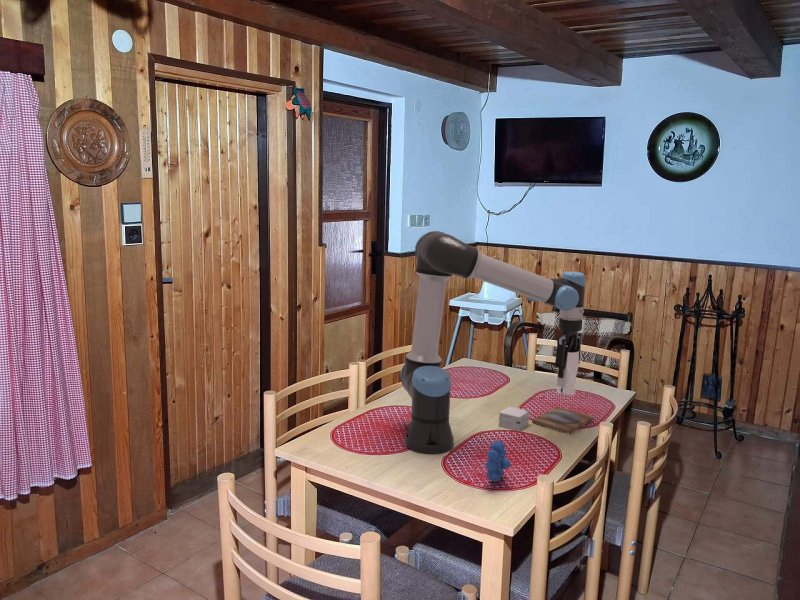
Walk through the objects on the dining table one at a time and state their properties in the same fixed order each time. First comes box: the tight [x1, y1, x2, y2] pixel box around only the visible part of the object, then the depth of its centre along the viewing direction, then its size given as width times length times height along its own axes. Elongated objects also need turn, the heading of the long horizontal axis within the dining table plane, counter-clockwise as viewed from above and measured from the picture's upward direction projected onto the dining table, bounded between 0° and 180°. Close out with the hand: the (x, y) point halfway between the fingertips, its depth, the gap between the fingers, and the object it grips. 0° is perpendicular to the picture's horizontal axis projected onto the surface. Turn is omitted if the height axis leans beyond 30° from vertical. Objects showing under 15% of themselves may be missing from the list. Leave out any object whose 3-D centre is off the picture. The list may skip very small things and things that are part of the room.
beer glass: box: [556, 349, 580, 396], centre depth 224 cm, size 7×7×15 cm
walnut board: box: [531, 406, 595, 435], centre depth 227 cm, size 18×14×2 cm
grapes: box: [484, 440, 512, 483], centre depth 178 cm, size 12×7×12 cm, turn 153°
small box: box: [498, 406, 530, 432], centre depth 222 cm, size 8×8×5 cm
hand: (566, 384), depth 225 cm, fingers closed on beer glass, 7 cm apart
